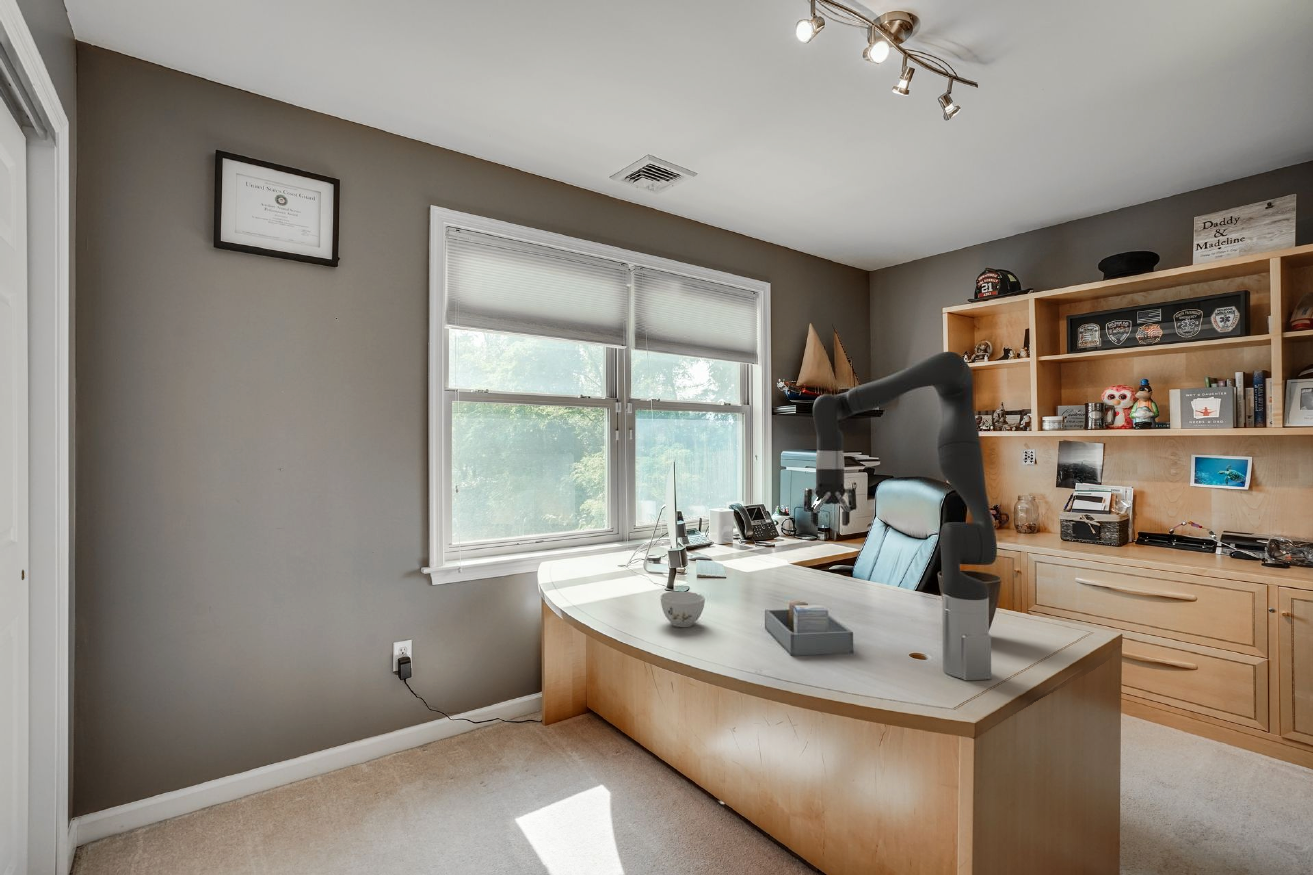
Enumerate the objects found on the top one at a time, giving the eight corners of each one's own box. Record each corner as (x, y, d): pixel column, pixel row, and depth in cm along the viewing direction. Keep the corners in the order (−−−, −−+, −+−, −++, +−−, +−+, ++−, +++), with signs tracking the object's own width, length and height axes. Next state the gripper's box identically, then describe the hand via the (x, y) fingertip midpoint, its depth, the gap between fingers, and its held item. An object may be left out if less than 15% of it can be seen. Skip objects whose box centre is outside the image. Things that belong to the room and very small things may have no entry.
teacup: (694, 634, 166) (694, 604, 166) (652, 628, 171) (652, 599, 171) (714, 619, 179) (714, 591, 179) (675, 613, 185) (674, 587, 185)
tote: (853, 652, 151) (853, 632, 151) (790, 655, 149) (790, 634, 149) (819, 626, 172) (819, 608, 172) (764, 628, 170) (764, 610, 170)
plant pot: (928, 637, 162) (928, 575, 162) (949, 624, 173) (949, 567, 173) (990, 650, 152) (990, 585, 152) (1009, 636, 162) (1009, 575, 162)
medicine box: (824, 638, 159) (824, 605, 159) (828, 644, 155) (828, 609, 155) (793, 638, 159) (793, 605, 159) (797, 644, 155) (796, 609, 155)
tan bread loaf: (811, 632, 164) (811, 606, 164) (792, 633, 164) (792, 606, 164) (804, 627, 169) (804, 601, 169) (786, 627, 169) (786, 602, 169)
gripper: (848, 466, 176) (848, 523, 176) (800, 466, 174) (800, 524, 174) (860, 467, 169) (860, 527, 169) (810, 468, 167) (810, 528, 167)
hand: (830, 525), depth 171 cm, fingers open, 8 cm apart
